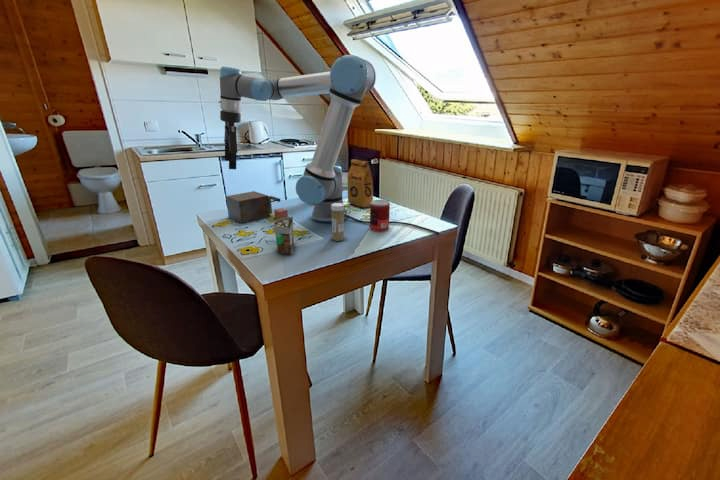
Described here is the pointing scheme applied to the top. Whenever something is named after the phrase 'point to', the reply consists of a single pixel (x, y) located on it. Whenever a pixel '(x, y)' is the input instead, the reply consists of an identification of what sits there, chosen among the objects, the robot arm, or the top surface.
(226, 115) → the robot arm
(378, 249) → the top surface
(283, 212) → the block
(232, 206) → the cabinet
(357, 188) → the coffee package
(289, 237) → the food container
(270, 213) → the drawer
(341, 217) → the sprinkles bottle
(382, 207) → the canned food
